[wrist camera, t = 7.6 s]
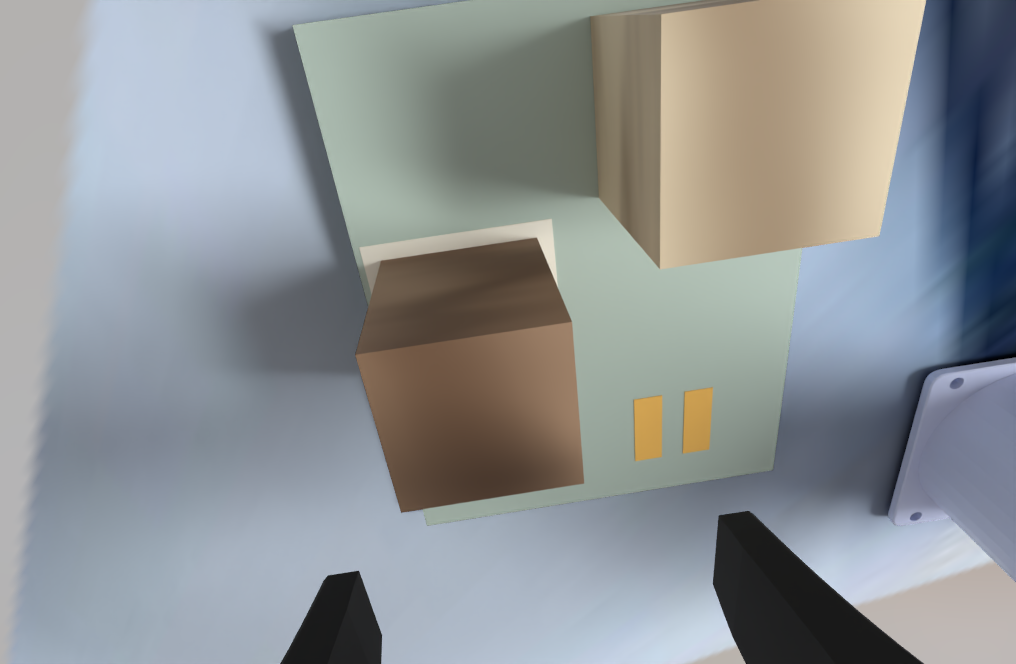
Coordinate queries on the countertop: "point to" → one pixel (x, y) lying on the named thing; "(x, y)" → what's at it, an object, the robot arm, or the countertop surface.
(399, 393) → the walnut block
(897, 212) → the countertop surface
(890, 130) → the oak block
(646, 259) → the board
